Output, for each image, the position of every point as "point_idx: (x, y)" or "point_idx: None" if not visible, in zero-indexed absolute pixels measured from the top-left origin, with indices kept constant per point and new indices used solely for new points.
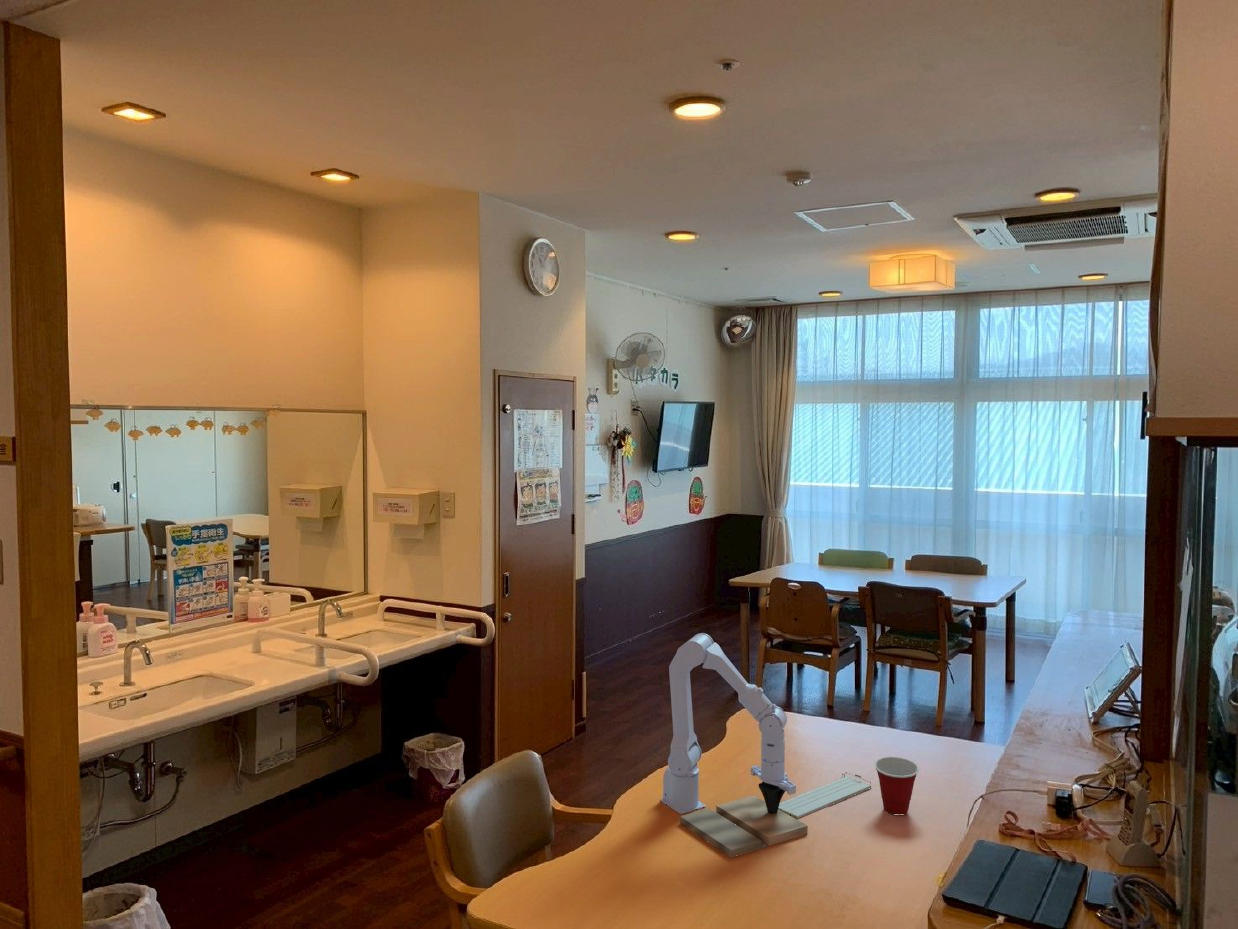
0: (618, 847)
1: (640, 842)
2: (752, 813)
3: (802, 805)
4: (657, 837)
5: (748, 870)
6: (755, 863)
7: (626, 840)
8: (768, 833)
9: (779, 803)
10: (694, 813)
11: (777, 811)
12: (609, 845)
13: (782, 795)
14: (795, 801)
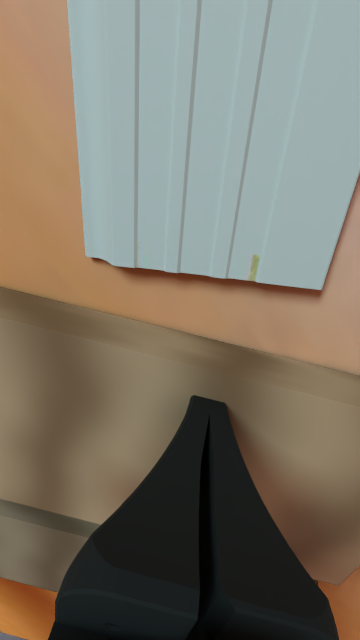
0: (46, 637)
1: (51, 619)
2: (139, 478)
3: (260, 69)
4: (50, 599)
5: (341, 630)
6: (340, 608)
7: (27, 621)
8: (318, 567)
9: (240, 453)
10: (3, 554)
11: (226, 407)
12: (29, 637)
13: (272, 525)
14: (157, 38)
